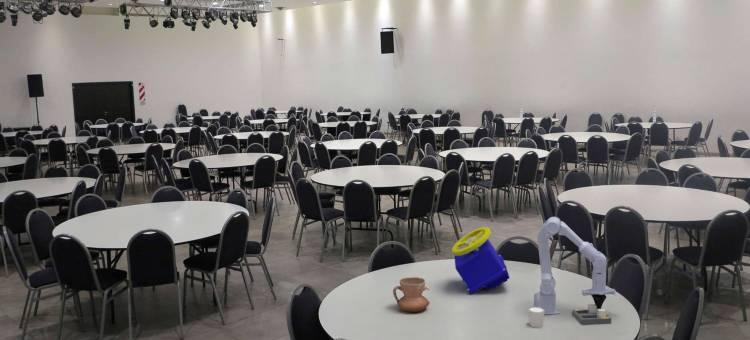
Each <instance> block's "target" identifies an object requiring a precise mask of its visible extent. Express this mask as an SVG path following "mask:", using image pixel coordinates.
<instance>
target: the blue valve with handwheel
mask: <svg viewBox="0 0 750 340" xmlns="http://www.w3.org/2000/svg"><path fill="white" fill-rule="evenodd" d="M491 234H492V231H491V229H490V228H489V227H487V226H482V227H479V228H477V229H474V230H472V231H469V232H468V233H466V234H465V235H464V236H462V237H461V238H460V239H459V240H458V241H457V242H455V243H454V245H453V246H452V248H451V252H452V254H453V255H454V266H455V267H454V268H455V270H456V272H457V273H458V275H459V276H460V278H461V280H462V281H463V283H465V285H466V289H467V293H468V294H469V295H473V294H474V293H477V292H478V291H480V290H481V289H483V288H485V289H486V290H487V291H489V290H491V289H496V287H499V286H501V285H502V284H503V283H507V282H508V280H509V279H510V278H511V277H510V274H509V271H508V268H507V265H506V263H505V261H504V257H503V256H502V255H501V254H498V251H497V250H496V249H495V248H494V246H493V244H492V242H491V241H490V240H489V238H490V237H491ZM463 246H466V247H464V248H460V247H463Z"/></svg>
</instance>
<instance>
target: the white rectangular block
mask: <svg viewBox="0 0 750 340" xmlns="http://www.w3.org/2000/svg"><path fill="white" fill-rule="evenodd" d="M606 314H607V310H606V309H605V308H601V309H597V318H602V317H606Z"/></svg>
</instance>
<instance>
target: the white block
mask: <svg viewBox="0 0 750 340" xmlns="http://www.w3.org/2000/svg"><path fill="white" fill-rule="evenodd" d="M587 309H588V313H597V306H596V305H595V303H592V304H590V303H589V304H587Z"/></svg>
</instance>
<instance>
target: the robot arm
mask: <svg viewBox="0 0 750 340" xmlns="http://www.w3.org/2000/svg"><path fill="white" fill-rule="evenodd" d="M556 234H558V236H564V237H566V238H567V239H569V240H570V241H571V242H572V243H573V244H574V245H575V246H577V247H578V252H579V253H580V254H582V255H583V257H585V258H586V259H587V260H588V261H589V262H592V263H591V264H592V266H593V268H592V273H591V275H592V279H591V288H590V289H584V290H583V289H582V290H581V295H582V296H584V297H585V296H591V297H592V299H593V302H594V304H595V305H596V306H597V309H602V307H603V304H604V302H605V300H606V299H607V295H616V289H615V288H607V286H606V285H607V284H606V283H607V281H606V280H607V270H606V269H607V258H606V256H605V254H604V253H602V252H601V251H598V249H596V248H595V247H594V245H593V243H592V242H590V243H589V241H584V240H583V239H581V238H580V237H579V236H578V235H577V234H576V233H575V231H573V230H572V229H571V228H570V227H569V225H567V224H566V223H565V222H564V221H563V220H562V221H561V218H559V217H557V216H551V217H549V218H548V219H547V220H545V221H544V223H543V225H542V226H541V228H540V230H539V232H538V233H537V237H536V238H537V239H536V240H537V249H538V255H539V264H540V281H541V282H540V286H539V292H536V293H534V294H533V295H534V296H533V307H539V308H543V309H544V315H555V314H556V315H558V314H560V313H559V311H558V310H557V308H556V303H557V302H556V301H557V298H556V296H557V294H556V293H557V292H556V290H555V286H556V280H555V278H554V276H553V272H552V265H551V264H552V263H551V253H550V245H549V239H550V238H551V237H553V236H555V235H556Z"/></svg>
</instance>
